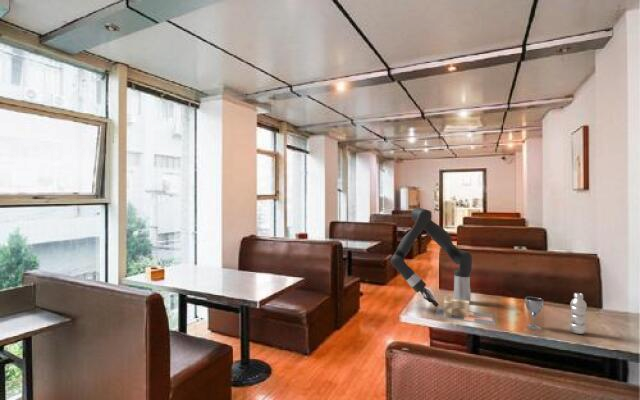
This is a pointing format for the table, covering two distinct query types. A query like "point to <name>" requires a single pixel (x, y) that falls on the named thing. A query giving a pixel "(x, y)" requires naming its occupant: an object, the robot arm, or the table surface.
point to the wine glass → (534, 309)
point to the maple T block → (455, 307)
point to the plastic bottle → (578, 314)
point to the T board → (473, 317)
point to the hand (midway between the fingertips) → (437, 305)
